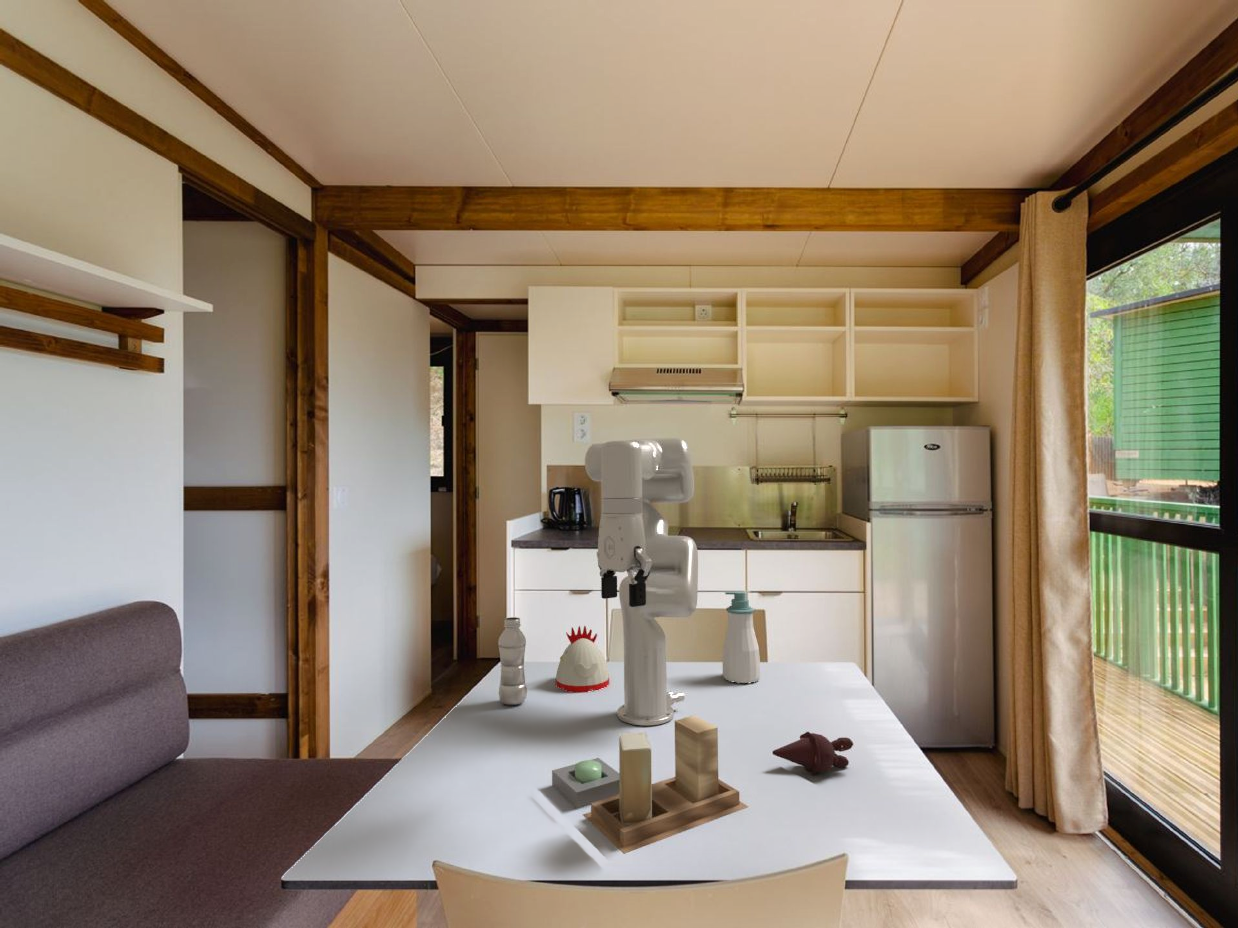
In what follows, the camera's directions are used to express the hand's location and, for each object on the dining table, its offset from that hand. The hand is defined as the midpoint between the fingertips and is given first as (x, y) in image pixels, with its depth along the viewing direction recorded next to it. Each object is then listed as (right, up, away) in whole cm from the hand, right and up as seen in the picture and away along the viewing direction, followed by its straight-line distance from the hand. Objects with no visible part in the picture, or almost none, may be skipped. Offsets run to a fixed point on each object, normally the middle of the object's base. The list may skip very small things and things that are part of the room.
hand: (623, 601), depth 113 cm
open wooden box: (+7, -30, -17) cm, 35 cm away
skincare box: (+2, -29, -20) cm, 35 cm away
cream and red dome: (-10, -33, +49) cm, 59 cm away
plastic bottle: (-26, -32, +34) cm, 54 cm away
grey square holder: (-6, -30, -10) cm, 32 cm away
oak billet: (+12, -29, -14) cm, 34 cm away
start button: (-6, -29, -10) cm, 31 cm away
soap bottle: (+32, -32, +51) cm, 68 cm away
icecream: (+34, -30, -2) cm, 46 cm away
